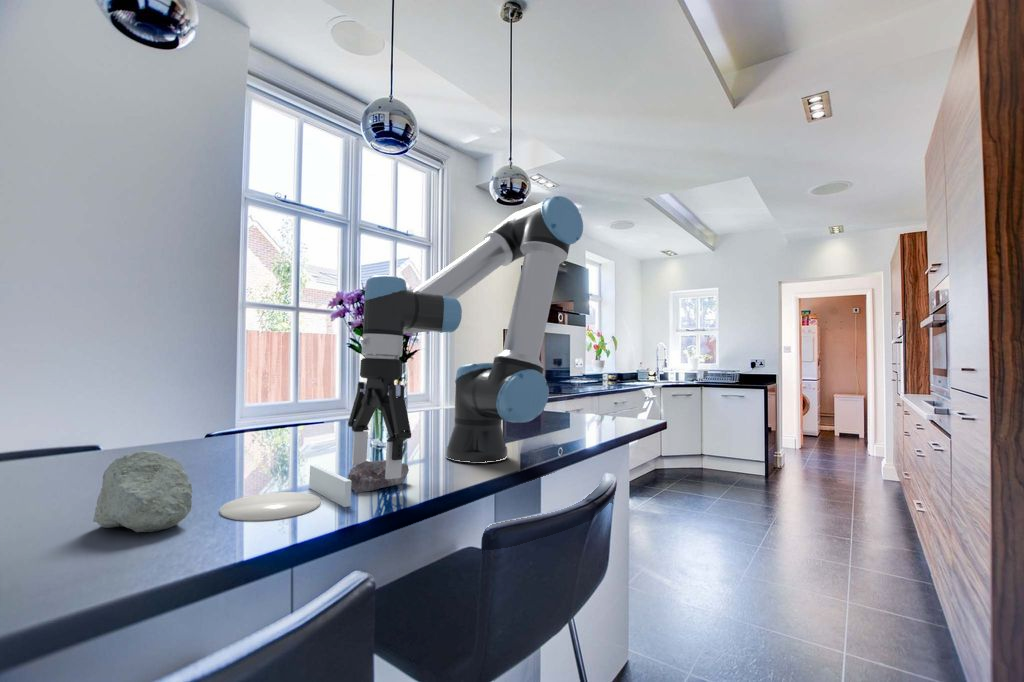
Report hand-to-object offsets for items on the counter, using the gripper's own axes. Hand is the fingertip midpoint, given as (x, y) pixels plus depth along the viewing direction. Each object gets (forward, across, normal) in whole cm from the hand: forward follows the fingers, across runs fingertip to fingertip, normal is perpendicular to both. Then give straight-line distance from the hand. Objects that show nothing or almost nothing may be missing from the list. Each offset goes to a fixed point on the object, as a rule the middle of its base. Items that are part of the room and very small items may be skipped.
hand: (375, 471), depth 90 cm
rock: (+3, 0, 0) cm, 3 cm away
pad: (+3, +3, -19) cm, 19 cm away
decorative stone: (+3, +2, -35) cm, 35 cm away
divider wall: (+3, +2, -10) cm, 10 cm away
